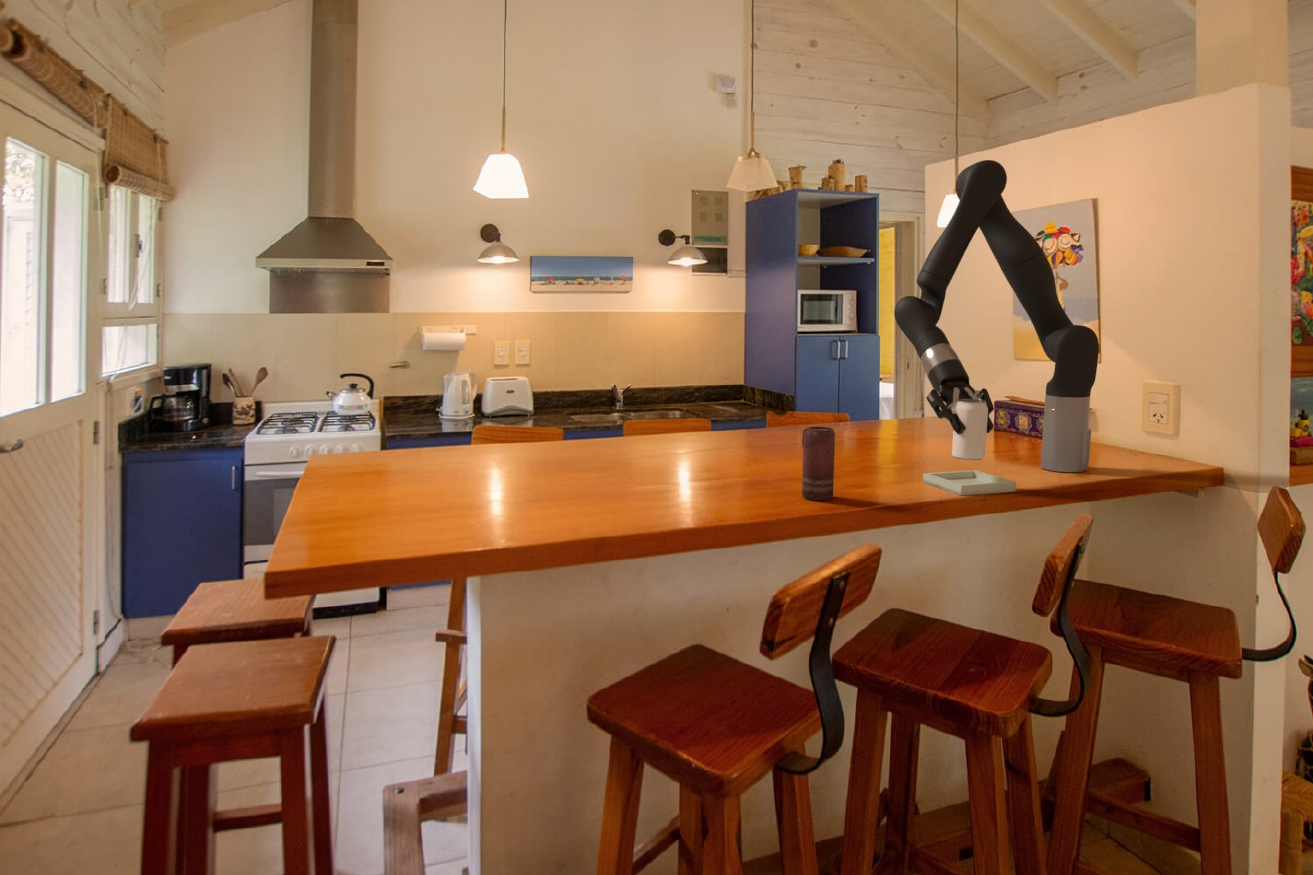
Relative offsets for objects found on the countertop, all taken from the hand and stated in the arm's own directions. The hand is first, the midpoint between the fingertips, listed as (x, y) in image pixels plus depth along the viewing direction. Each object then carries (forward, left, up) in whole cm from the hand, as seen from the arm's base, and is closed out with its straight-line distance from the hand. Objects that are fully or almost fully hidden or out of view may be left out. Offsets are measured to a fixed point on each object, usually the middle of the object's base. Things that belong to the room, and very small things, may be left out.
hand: (975, 431), depth 168 cm
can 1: (+35, -2, -12) cm, 37 cm away
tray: (0, -2, -12) cm, 12 cm away
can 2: (0, -2, -6) cm, 6 cm away
